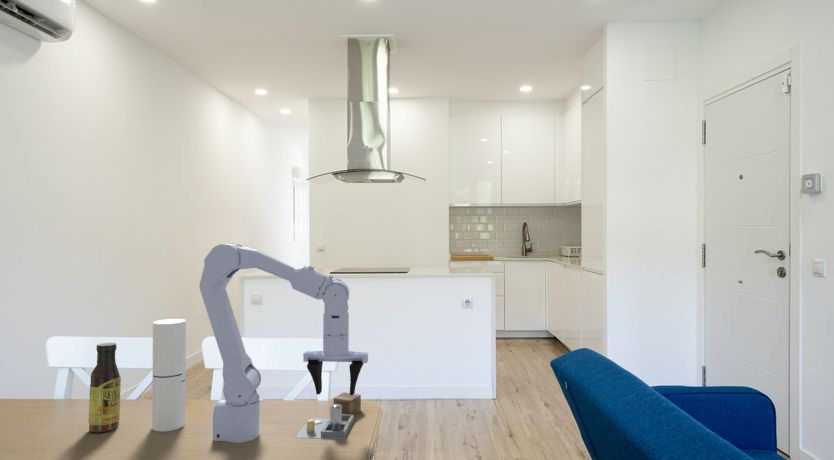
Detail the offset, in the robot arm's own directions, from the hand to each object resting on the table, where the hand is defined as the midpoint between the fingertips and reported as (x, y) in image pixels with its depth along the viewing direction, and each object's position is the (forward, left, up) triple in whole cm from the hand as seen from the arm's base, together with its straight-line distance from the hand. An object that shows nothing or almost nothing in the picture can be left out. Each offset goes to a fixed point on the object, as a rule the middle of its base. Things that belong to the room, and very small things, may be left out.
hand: (335, 393), depth 118 cm
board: (-3, +2, -10) cm, 11 cm away
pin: (0, 0, -9) cm, 9 cm away
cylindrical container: (-41, +4, -10) cm, 43 cm away
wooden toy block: (0, +13, -10) cm, 17 cm away
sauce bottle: (-55, 0, -10) cm, 56 cm away
